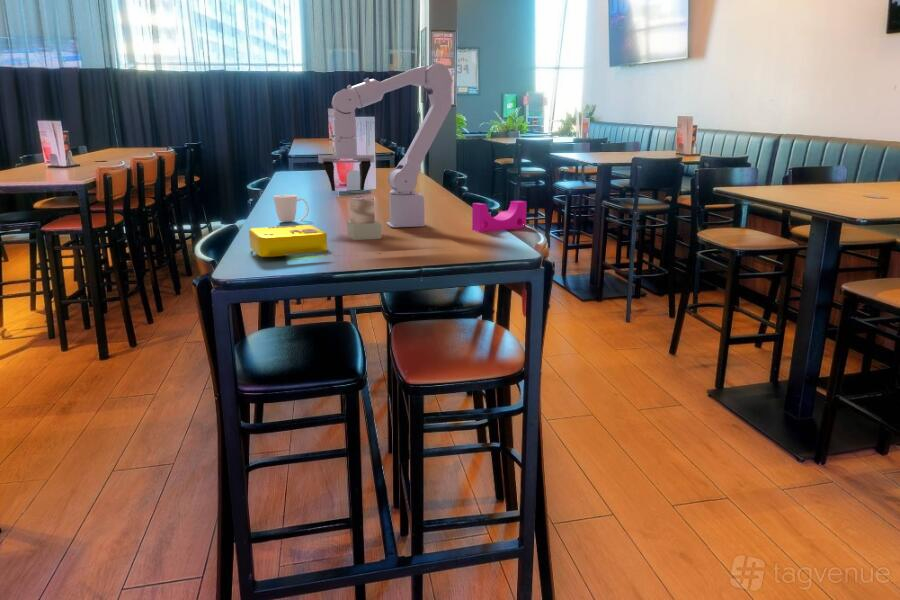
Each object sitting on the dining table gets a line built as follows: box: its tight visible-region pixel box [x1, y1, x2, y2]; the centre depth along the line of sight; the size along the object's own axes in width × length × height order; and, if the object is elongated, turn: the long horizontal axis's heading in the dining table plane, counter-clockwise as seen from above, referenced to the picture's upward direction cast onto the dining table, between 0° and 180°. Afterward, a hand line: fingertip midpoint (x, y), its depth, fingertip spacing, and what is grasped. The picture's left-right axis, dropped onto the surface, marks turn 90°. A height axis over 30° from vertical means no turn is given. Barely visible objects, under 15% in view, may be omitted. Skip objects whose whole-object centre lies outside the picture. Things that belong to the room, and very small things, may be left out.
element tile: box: [248, 224, 328, 258], centre depth 138 cm, size 15×15×5 cm
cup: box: [273, 194, 310, 222], centre depth 175 cm, size 7×10×8 cm
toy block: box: [471, 200, 528, 233], centre depth 167 cm, size 15×6×8 cm, turn 119°
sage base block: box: [346, 220, 383, 241], centre depth 153 cm, size 7×7×4 cm
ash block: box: [349, 198, 376, 224], centre depth 152 cm, size 4×4×6 cm
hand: (347, 190), depth 164 cm, fingers open, 7 cm apart
